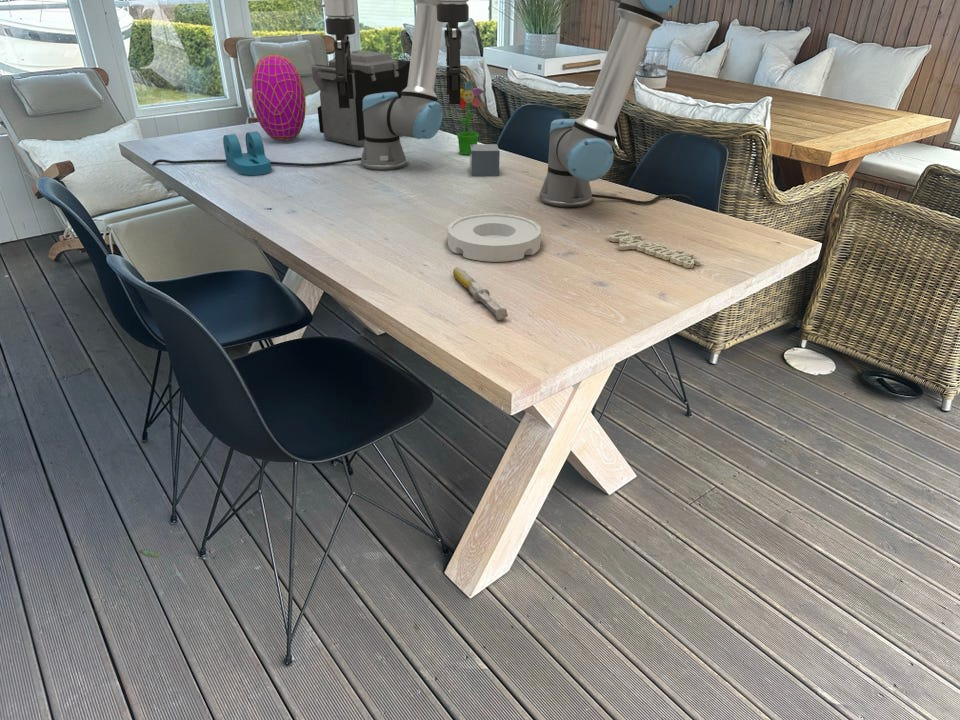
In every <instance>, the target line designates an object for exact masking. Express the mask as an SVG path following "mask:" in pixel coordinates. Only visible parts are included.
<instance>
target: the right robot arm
mask: <svg viewBox="0 0 960 720" xmlns="http://www.w3.org/2000/svg"><path fill="white" fill-rule="evenodd" d="M437 1H439V4H437V20H438V21H439V22H443V23H446V25H445V28H446V29H444V31H443V32H444V35H443V36H444V45H445V47H446V48H445V49H446V58H445V61H446V95H448V105H459V104H461V91H460V89H461V74H462V73H461V72H462V68H461V48H462V35H463V34H462V33H463V32H462V30H461V29H460V28H459V23H467V22H468V21H470V20H469V19H470V18H469V17H470V15H469V14H470V11H469V10H470V9H469V7H470V6H469V4H468V3H467V2H469V1H470V0H437ZM610 1H612V2H615V3H617V4H618V7H617V12H618V15H619V21H618V24H617V27H616V30H615V31H614V35H613V37H612V40H611V42H610V44H609V47H608V50H607V52H606V56H605V58H604V61H603V63H602V65H601V69H600V71H599V73H598V75H597V76H598V77H597V79H596V81H595V84H594V86H593V88H592V89H593V90H592V92H591V95H590V97H589V100H588V103H587V105H586V107H585V110H584V113H583V114H582V116H580V117H577V118H558V119H554V120H552V121H551V123H550V127H549V128H550V129H549V132H548V134H549V141H548V142H549V144H548V156H547V157H548V159H547V173H546V176H545V178H544V181H543V184H542V187H541V189H540V192H539V200H540V202H542V203H543V204H546V205H549V206H553V207H558V208H559V207H560V208H580V207H584V206H588V205H589V204H591V203H592V199H593V198H598V199H599V198H600V199H607V200H614V201H615V200H616V201H622V202H627V203H632V204H637V205H649V204H653V203H655V202H656V201H657V200H660V199H668V198H683V199H685V200H687V201H689V202H690V203H691V204H696V202H695V201H694V199H693V198H692V197H690V196H689V195H686V194H681V193H675V194H674V193H673V194H661V195H657V196H655V197H654V198H652V199H650V200H637V199H631V198H627V197H620V196H614V195H604V194H595V193H592V188H591V184H590V182H595V181H597V180H599V179H601V178H602V177H604V176H605V175H606V174H607V173H609V171H610V169H611V168H612V166H613V163H614V159H615V158H614V151H613V145H614V143H615V142H616V138H617V132H616V129H615V126H616V124H617V120H618V118H619V115H620V113H621V112H622V111H621V110H622V108H623V106H624V103H625V101H626V98H627V96H628V93H629V90H630V88H631V86H632V84H633V81H634V78H635V75H636V73H637V71H638V69H639V67H640V64H641V61H642V58H643V56H644V53H645V51H646V49H647V46H648V44H649V41H650V39H651V37H652V33H653V32H654V31H655V30H657V29H659V28H660V27H662V26H663V23H664V22H665V19H666V16H667V13H668V12H670V11H671V10H672V9H674V7H676V6H677V5H678V3H679V2H680V0H610Z"/></svg>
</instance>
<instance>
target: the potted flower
mask: <svg viewBox="0 0 960 720" xmlns="http://www.w3.org/2000/svg"><path fill="white" fill-rule="evenodd" d="M460 91H461V104H458V106H459V108H460V109H461V110H462V109H464V108H465V107H466V112H467V113H466V118H463V119H461V120H460V123H461V124H462V125H463V126H464V125H465V126H466V131H461V132H458V133H457V134H456V138H457V142H458V150H459V153H460V155H461V154H462V155H465V156H466V155H469V156H470V144H478V143H479V142H478V140H479V139H480V138H479V136H480V134H479V133H478V132H475V131H470V119H472V118H473V117H474V115H475V114H474V113H470V105H472V106H473V107H475V108H479V107H482V106H483V104H482V102H481V101H480V99H478V98H477V97H478V96H480V95H482V94H483V93H484V92H485V90H484V89H482V88H480V87H474V88H473V82H472V81H471V80H468V81H467V82H466V83H464V88H460Z"/></svg>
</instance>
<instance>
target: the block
mask: <svg viewBox="0 0 960 720" xmlns="http://www.w3.org/2000/svg"><path fill="white" fill-rule="evenodd" d="M500 151H501V150H500V148H499V146H498V144H497V143H487V144H486V143H485V144H484V143H477V144H470V155H469V171H470V176H471V177H499V176H500V155H501V154H500Z"/></svg>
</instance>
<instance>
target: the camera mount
mask: <svg viewBox="0 0 960 720" xmlns="http://www.w3.org/2000/svg"><path fill="white" fill-rule="evenodd" d="M222 140H223V141H222V143H223V149H224V150H223V151H224V156H225V159H226V162H225V163H226V165H227V166H228V167H230V168H231V169H232V170H234V171H236V172H237V173H238V174H239V175H244V176H260V175H265V174H268V173H271V172H272V164H271V163H270V162H271V159H270V158H268V157H267V156H266V153H265V145H264V141H263V139H262V136H261V134H260V132H258V131H247V132H246V133H245V146H246V152H243V151H242V150H243V149H242V146H241V142H240V140H239V138H238V135H236V134H235V133H231V134H224V135H223V138H222Z"/></svg>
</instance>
